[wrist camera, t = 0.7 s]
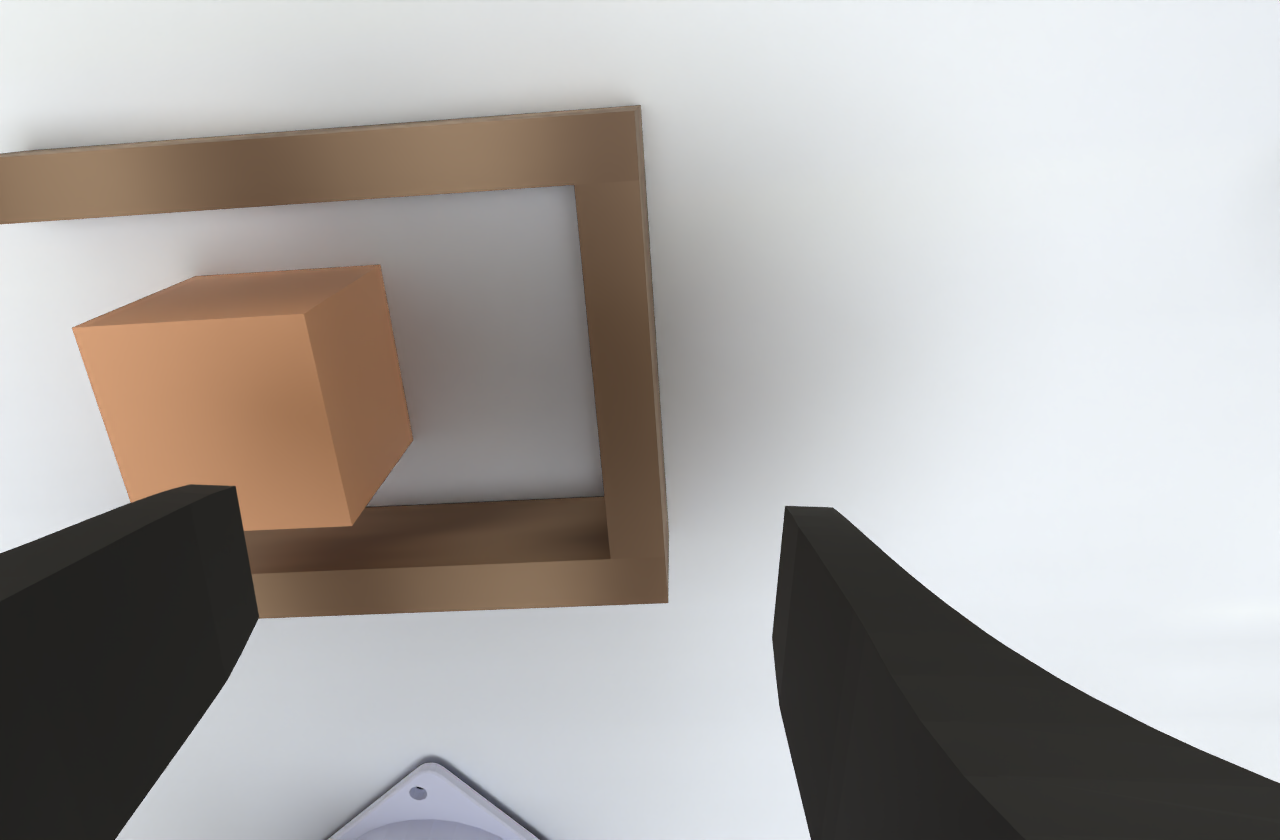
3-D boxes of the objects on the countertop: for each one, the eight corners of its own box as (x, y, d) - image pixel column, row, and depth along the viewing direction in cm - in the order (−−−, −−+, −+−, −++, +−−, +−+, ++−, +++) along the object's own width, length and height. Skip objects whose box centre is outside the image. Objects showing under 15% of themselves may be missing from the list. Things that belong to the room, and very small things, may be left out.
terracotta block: (381, 263, 19) (303, 313, 15) (414, 438, 21) (352, 526, 17) (197, 275, 20) (72, 327, 15) (243, 447, 21) (142, 535, 17)
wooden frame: (640, 105, 18) (634, 110, 15) (668, 535, 22) (668, 602, 19) (25, 150, 18) (-88, 164, 16) (161, 556, 22) (88, 625, 20)
